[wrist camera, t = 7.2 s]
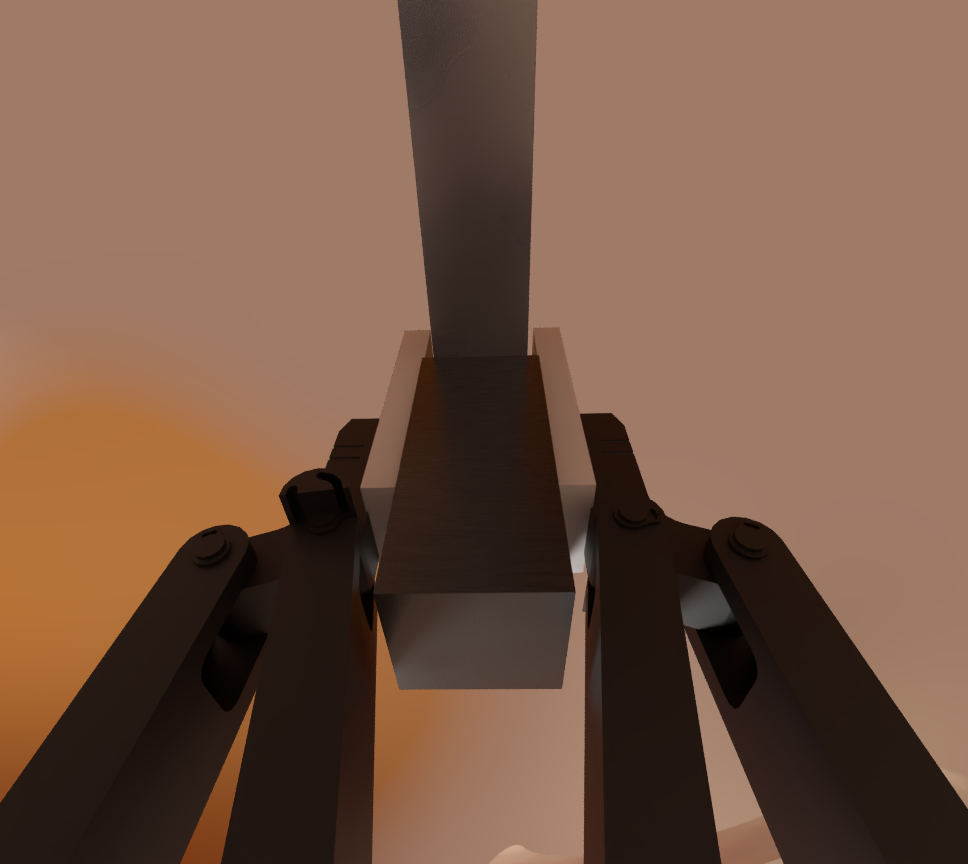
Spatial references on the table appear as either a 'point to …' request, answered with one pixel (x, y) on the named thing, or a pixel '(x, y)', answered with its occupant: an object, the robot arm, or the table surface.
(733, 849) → the table surface
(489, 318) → the grey l-shaped bar
